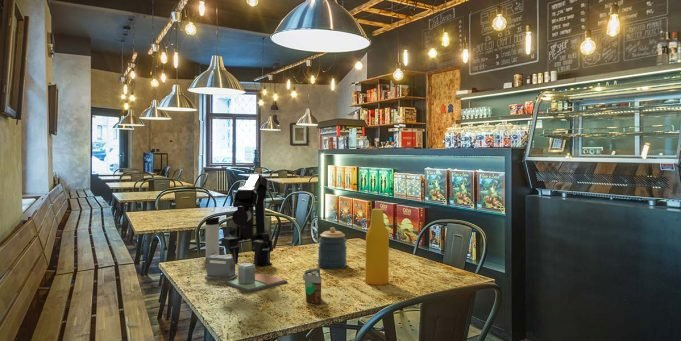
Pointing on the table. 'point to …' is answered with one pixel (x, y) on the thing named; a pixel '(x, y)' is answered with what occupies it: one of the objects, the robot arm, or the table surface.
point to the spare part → (246, 273)
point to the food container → (313, 286)
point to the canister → (332, 250)
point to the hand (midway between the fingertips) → (246, 261)
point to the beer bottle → (377, 250)
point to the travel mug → (212, 236)
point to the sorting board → (257, 283)
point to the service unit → (220, 267)
